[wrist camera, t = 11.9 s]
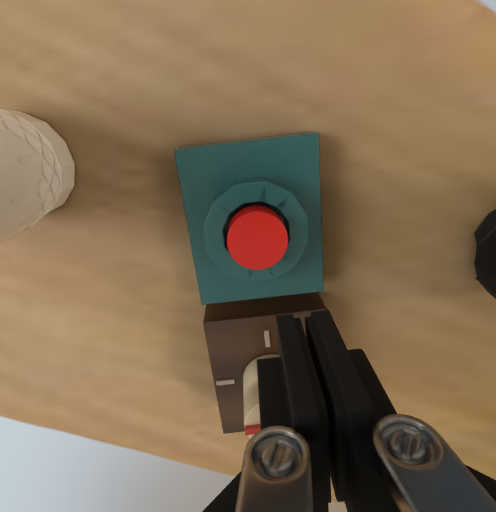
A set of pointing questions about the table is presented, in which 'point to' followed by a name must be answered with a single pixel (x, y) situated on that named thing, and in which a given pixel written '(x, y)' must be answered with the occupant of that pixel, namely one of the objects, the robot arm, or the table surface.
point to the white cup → (30, 172)
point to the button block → (248, 194)
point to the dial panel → (246, 343)
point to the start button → (257, 237)
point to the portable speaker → (486, 253)
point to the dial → (252, 397)
